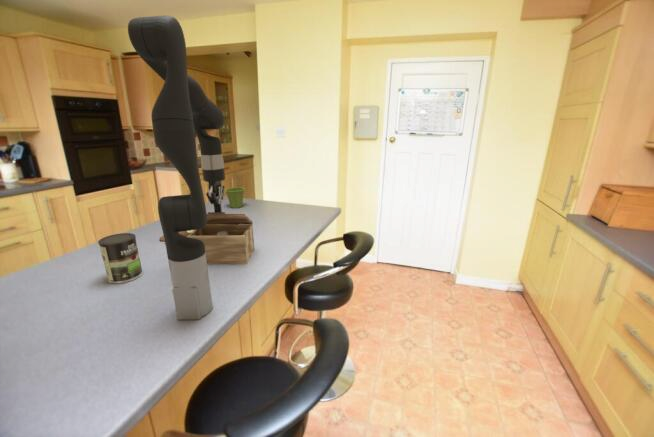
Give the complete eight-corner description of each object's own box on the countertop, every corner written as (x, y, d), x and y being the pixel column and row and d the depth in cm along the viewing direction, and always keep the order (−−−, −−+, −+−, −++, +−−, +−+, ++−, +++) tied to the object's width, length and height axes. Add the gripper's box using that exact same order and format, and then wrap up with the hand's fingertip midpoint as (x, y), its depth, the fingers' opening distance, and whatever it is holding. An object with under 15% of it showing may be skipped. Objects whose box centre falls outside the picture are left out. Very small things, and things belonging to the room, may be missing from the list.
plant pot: (241, 203, 197) (239, 186, 194) (249, 207, 189) (248, 189, 185) (223, 206, 190) (221, 188, 187) (231, 210, 181) (229, 192, 178)
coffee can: (149, 270, 108) (142, 233, 104) (126, 285, 99) (117, 245, 94) (125, 267, 110) (117, 231, 106) (99, 282, 101) (89, 242, 96)
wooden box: (246, 263, 114) (244, 236, 110) (190, 263, 114) (186, 236, 110) (254, 249, 127) (252, 224, 123) (204, 249, 126) (200, 224, 123)
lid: (243, 216, 110) (244, 211, 110) (185, 216, 110) (186, 211, 110) (252, 224, 123) (252, 220, 124) (200, 224, 123) (201, 220, 123)
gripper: (217, 170, 102) (223, 219, 107) (229, 164, 114) (233, 208, 120) (195, 170, 102) (201, 219, 107) (209, 164, 114) (214, 208, 120)
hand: (218, 213), depth 113 cm, fingers closed
